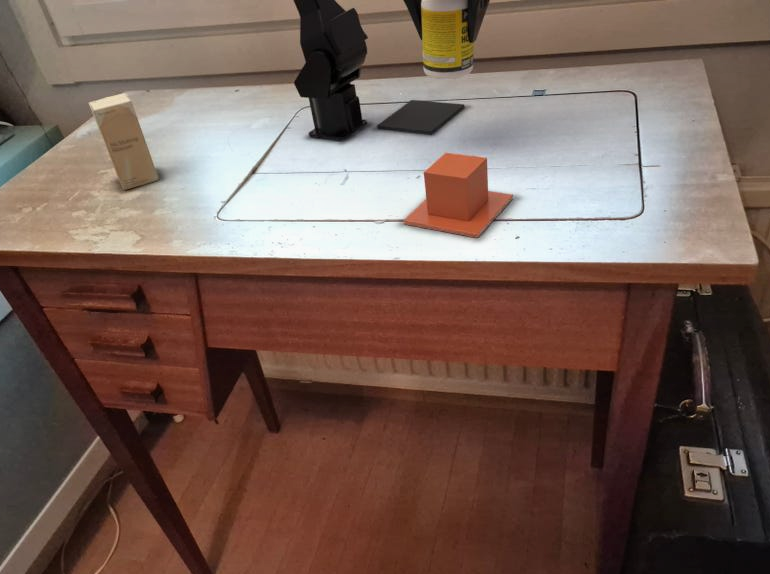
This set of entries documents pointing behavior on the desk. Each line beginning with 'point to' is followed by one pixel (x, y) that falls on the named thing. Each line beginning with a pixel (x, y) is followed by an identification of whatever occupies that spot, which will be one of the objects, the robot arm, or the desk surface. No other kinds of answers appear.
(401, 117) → the charcoal mat
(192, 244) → the desk surface
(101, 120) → the box
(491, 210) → the terracotta mat
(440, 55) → the pill bottle
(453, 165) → the terracotta block
